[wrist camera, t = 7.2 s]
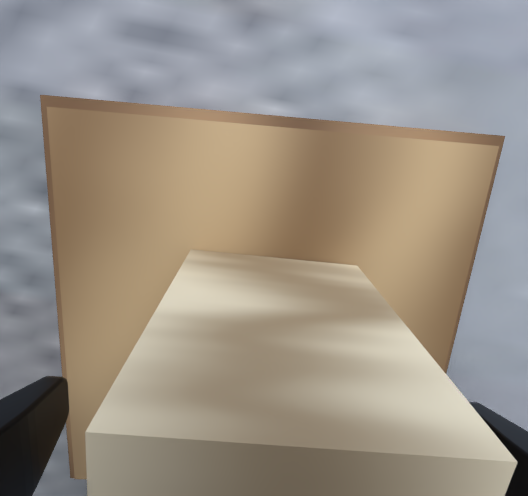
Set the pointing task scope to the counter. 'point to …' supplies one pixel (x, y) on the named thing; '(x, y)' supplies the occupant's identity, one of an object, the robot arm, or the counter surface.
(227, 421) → the beech block
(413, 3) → the counter surface
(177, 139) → the tan wooden panel
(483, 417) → the robot arm
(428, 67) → the counter surface
